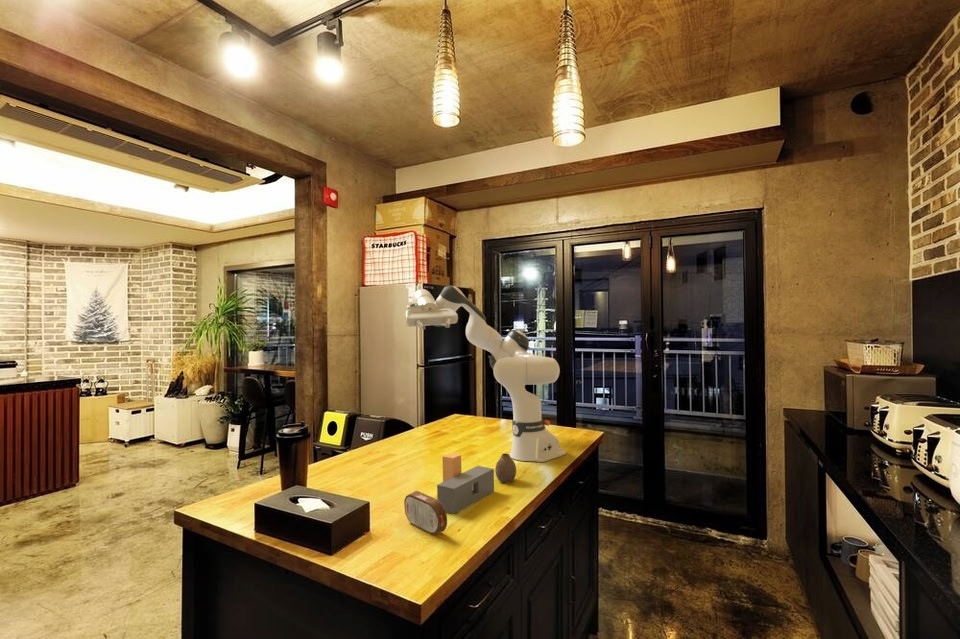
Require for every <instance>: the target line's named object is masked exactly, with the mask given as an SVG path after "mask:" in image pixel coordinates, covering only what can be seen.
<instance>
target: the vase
mask: <svg viewBox="0 0 960 639" xmlns="http://www.w3.org/2000/svg"><path fill="white" fill-rule="evenodd" d="M494 473H495V476H496V478H497V480H498V481H499V482H500V483H503V484H510V483H512V482H513V481H514V480H515V478H516V475H517V465H516V462H515V461H514V460H513V458H511V457H510V453H506V452H505V453H502V454H501V456H500V457H499V459H498V461H497V462H496V464H495V468H494Z"/></svg>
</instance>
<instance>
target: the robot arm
mask: <svg viewBox="0 0 960 639" xmlns="http://www.w3.org/2000/svg"><path fill="white" fill-rule="evenodd" d="M411 299H412V304H408V305H406V311H405V326H407V327H409V328H411V327H417V328H420V330H421V331H422V330H426V326H434V327H445V328H450V326H451V325H452V324H457V323H458V320H459V316H458V313H457V310H459V309H460V308H461V307H463V309H464V310H466V311H467V312H468V313H469V317H468V322H467V323H466V326H465V336H466V339H467V341H469V343H470V344H472V345H473V346H475V347H478V349H479V348H480V349H482V350H485V351H487V352H489V353H490V354H491V355H488V359H489V364H490V368H492V370H493V371H492V372H493V377H494V378H495V380H496V382H498V383H499V384H500V385H501V386H503V388H505V390H506V391H507V392H508V394H509V397H510V399H511V404H512V415H513V416H512V417H513V419H512V422H511V424H512V425H511V426H512V427H511V428H512V429H511V430H512V444H511V450H510V452H509V455H510V457H511V459H512V460H513V459H514V460H516V461H523V462H538V463H544V462H547V461H550V460H553V459H555V458H560V457H562V456H565V455H567V452H566V450H565V449H563V448H562V447H561V448H560V441H559V439H558V437H557V436H555V435H554V433H552V432H550V431H549V430H548V429H546V426H548V427H549V426H550V420H547V419H545V420H544V419H542V402H541V398H539V397H538V396H537V395H536V394H534V393H532V392H529V391H527V390H526V388H525V386H527V385H529V386H531V385H537V386H539V385H548V384H549V385H550V384H553V383H555V382H556V381H557V380H558V378H559V376H560V373H561V371H560V369H561V368H560V365H559V363H558V362H557V360H556V359H555V358H553V357H549V356H542V355H536V354H532V353H531V352H528V350H530V349H531V347H530V346H529V345H530V342H529V338H528V337H527V335H526V334H525V333H524V332H522V331H520V330H517V329H516V330H515V329H511V330H510V331H509V332H508V333H507V334H506V336H505V338H504V339H503V337H502V335H501V334H500V333H499V332H498V331H497V330H496V329H494V328H493V327H491V326H490V325H488V324H487V322H486V321H487V318H486V316H485V315H484V313H483V312H482V311H481V309H479V308H478V307H477V306H476V305H475V304H474V303H473V302H472V301H471V300H470V299H469V298H467V296H466V295H465V294H464V293H463V291H462V290H461V289H460V288H458V287H457V286H455V285H454V284H452V285H447V286H444V288H442V291H441V292H440V294H439V295H438V297H437V298H436V300H435V297H434V296H433V295H432V294H431V292H430V291H429V290H427V289H424V288H419V289H417V290H416V291H415V292H414V293H413V295H412V298H411Z"/></svg>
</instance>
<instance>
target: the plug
mask: <svg viewBox="0 0 960 639" xmlns="http://www.w3.org/2000/svg"><path fill="white" fill-rule="evenodd" d="M461 473H462V455H461V454H458V453H454V452H451V453H448V454H445V455H442V482H444V481H446V480H448V479H451V478H453V477H455V476H457V475H459V474H461ZM473 490H474V485H473V484H472V491H473Z"/></svg>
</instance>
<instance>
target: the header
mask: <svg viewBox="0 0 960 639" xmlns="http://www.w3.org/2000/svg"><path fill="white" fill-rule="evenodd" d="M472 484H473V485H474V490H473V491H472ZM436 489H437V490H436V493H437V494H436V495H437V496H436V499H437V500H438V501H439V502H440V503H441V504H442V505H443V507H444V509H445V512H446V514H447V513H448V514H450V515H454V514H455V515H457V514H458V513H460V512H461V510H462V511H463V510H465V509H467V508H468V507H470V506H472V505H473V504H475V503H477V502H479V501H481V500H482V499H484V498H485V497H487V496H489V495H491V494H492V493H494V492H495V468H492V467H487V466H481V465H476V466H474V467H472V468H470V469H468V470H466V471H464V472H461V474H459V475H457V476H455V477H453V478H451V479H448V480H446V481H444V482H443V481H442V482H440V483H438V484H437V485H436ZM459 511H460V512H459ZM457 512H458V513H457Z"/></svg>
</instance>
